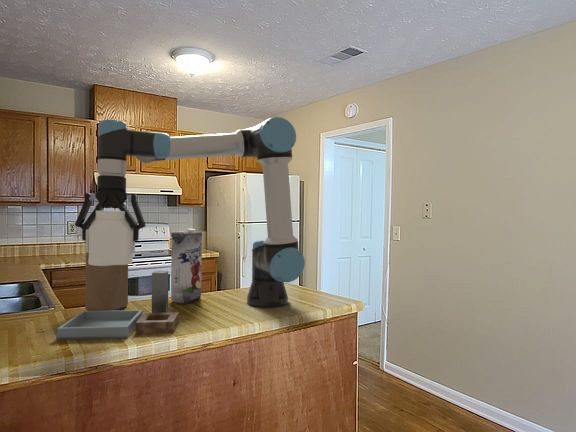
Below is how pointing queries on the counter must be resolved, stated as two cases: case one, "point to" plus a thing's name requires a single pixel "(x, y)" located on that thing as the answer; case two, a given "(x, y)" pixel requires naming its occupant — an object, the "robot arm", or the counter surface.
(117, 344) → the counter surface
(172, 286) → the juice carton
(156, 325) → the hollow square tube
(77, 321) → the tray
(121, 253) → the jar
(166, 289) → the grey block
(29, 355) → the counter surface
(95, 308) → the wooden block
